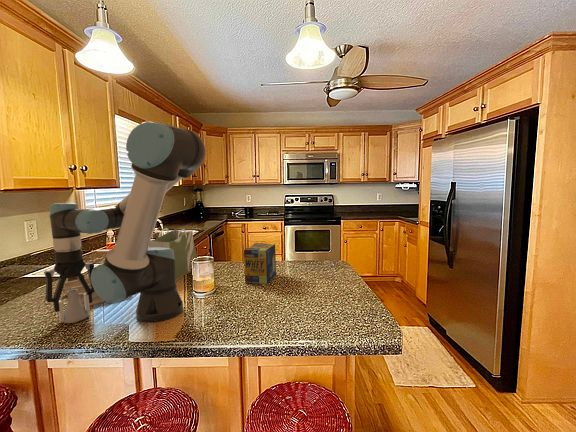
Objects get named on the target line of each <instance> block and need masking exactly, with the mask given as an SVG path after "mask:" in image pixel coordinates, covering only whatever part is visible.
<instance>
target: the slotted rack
mask: <svg viewBox="0 0 576 432" xmlns="http://www.w3.org/2000/svg"><path fill="white" fill-rule="evenodd" d="M84 279H85V281H86V283H87V284H88V286H89V288H91V284H90V279H89V277H84ZM64 289H65V290H64V291H65V296H67V297H68V294H67V293H66V292H67V291H69V290H72V289H78V290H79V291H78V297H79V300H80V302H81V304H82V305H83V307H84V308H85V303H84V294H86V291H85V290H84V288H83V286H82V284H81V283H80V281H79V280H75V281H70V282H68V281H65V283H64ZM101 303H104V300H102V299H101V298H100V297H99V296H98V295H97V294H96V292H95V291H94V292H93V293H92V303H89V306H93V305H97V304H101Z"/></svg>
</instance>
